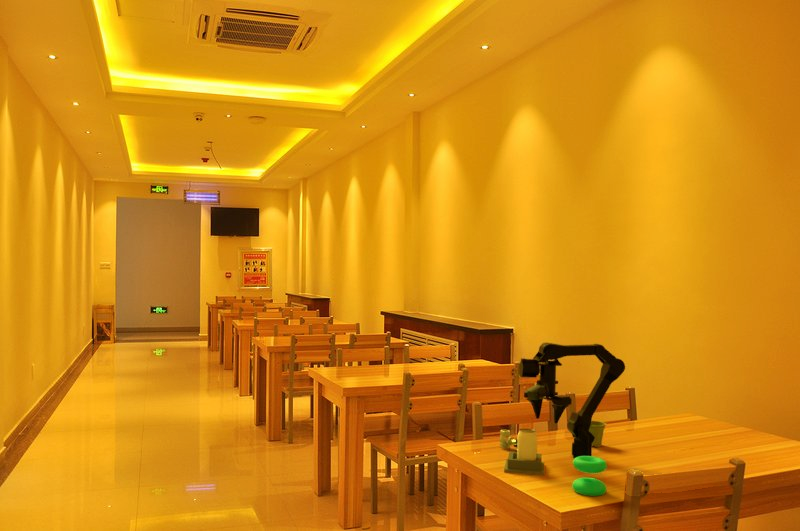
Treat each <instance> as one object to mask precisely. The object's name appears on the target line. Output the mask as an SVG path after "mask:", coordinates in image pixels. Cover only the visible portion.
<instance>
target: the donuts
mask: <svg viewBox="0 0 800 531" xmlns="http://www.w3.org/2000/svg"><path fill="white" fill-rule="evenodd" d="M572 464H573V466H574V468H575V470H578V471H579V472H582V473H586V474H600V473H603V472H605V471H606V469H607V467H608V464H607V462H606V460H605V459H603V458H602V457H598V456H593V455H592V456H579V457H576V458H573V461H572ZM571 487H572V489H573V490H574V492H576V493H577V494H580V495H583V496H588V495H589V497H597V496H603V495H604V494H605V493H606V492H607V486H606V484H605V482H603V481H602V480H599V479H598V478H593V477H579V478H576V479H575V480H573V482H572V486H571Z"/></svg>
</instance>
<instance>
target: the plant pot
mask: <svg viewBox="0 0 800 531" xmlns="http://www.w3.org/2000/svg"><path fill="white" fill-rule="evenodd" d="M606 425H607V423H606V422H603V421H600V420H591V426H590V429H589V432H590V433H591V434H592V435H593V436H594V437H595V439H594V441H593V443H592V447H595V448H599V447H601V446H602V443H603V436H604V431H605V428H606Z"/></svg>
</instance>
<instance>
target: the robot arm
mask: <svg viewBox="0 0 800 531" xmlns="http://www.w3.org/2000/svg"><path fill="white" fill-rule="evenodd" d="M572 356H575V357H577V356H595V357H596V358H597V359H598V361H599V362H600V363H602V365H601V367H600V374H599V378H598V379H597V381H596V383H595V384H594V386H593V388H592V390H591V392H590V393H589V395H588V396H587V399H586V400H585V401H584V403H583V404H582V407H581V409H580V410H579V411H577V412H575V411H572V412H571V415H570V417H569V418H568V419H567V424H566V426H567V430H568V432H569V433H570V434H571V436H572V438H573V442H571V455H572V456H573V459H575V458H576V457H579V456H593V455H592V454H593V452H592V449H593V448H592V447H593V446H592V443H593V441H594V439H595V437H594V436H593V435H592V434H591V433H590V432H589V429H590V426H591V421H593V420H592V418H593V415H594V414H595V413H596V411H597V410H598V407H599V406H600V403H602V400H603V399H604V397H605V395H606V393H607V392H608V390H609V388H610V387H611V385H612V383H614V382H615V381H616V380H617V379H618V378H620V376H621V375H623V373H624V372H625V371H626V366H625V362H624V361H623V360H622V359H620V358H617V357H616V356H615V355H614V354H612V353H611V352H610V351H609V350H608V349H606V348H605V346H604V345H603V344H599V343H591V344H569V345H568V344H558V343H553V342H543V343H541V344H540V346H539V347H538V352H536V354H535V355H534V357H533V358H525V357H521V358H520V361H519V366H518V375H519V378H534V379H536V378H537V377H539V379H536V384H535V385H533V386H531V387H530V388H528V389H525V391H524V392H523V393H524V394H523V395H524V396H523V397H524V398H526V400H527V401H528V402H529V403H530V405H531V406H532V408H533V412H534V415H535V418H536V419H537V420H539V419H540V416H541V410H542V408H543V407H542V406H543V401H544V400H548V401H551V402H552V404H551V406H552V408H553V421H554V424H558V423H559V421H560V418H562V415H563V413H564V411H565V410H566V409H567V408H568V407H570V406H571V405H572V402H573V401H572V398H571V396H568V395H564V394H561V395H559V393H558V392H557V391H556V387H557V386H556V385H558V384H559V380H557V367H561V366H563V363H562V362H561V361H560V360H559V359H561V358H564V357H572Z"/></svg>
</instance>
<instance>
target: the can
mask: <svg viewBox="0 0 800 531" xmlns="http://www.w3.org/2000/svg"><path fill="white" fill-rule="evenodd" d="M517 438H518V443H517V447H516V450H517V459H522V460H534V461H536V460H537V454H538V452H537V451H538V434H537V430H536V429H533V428H528V427H527V428H526V427H525V428H524V427H523V428H519V429H518V433H517Z"/></svg>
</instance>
